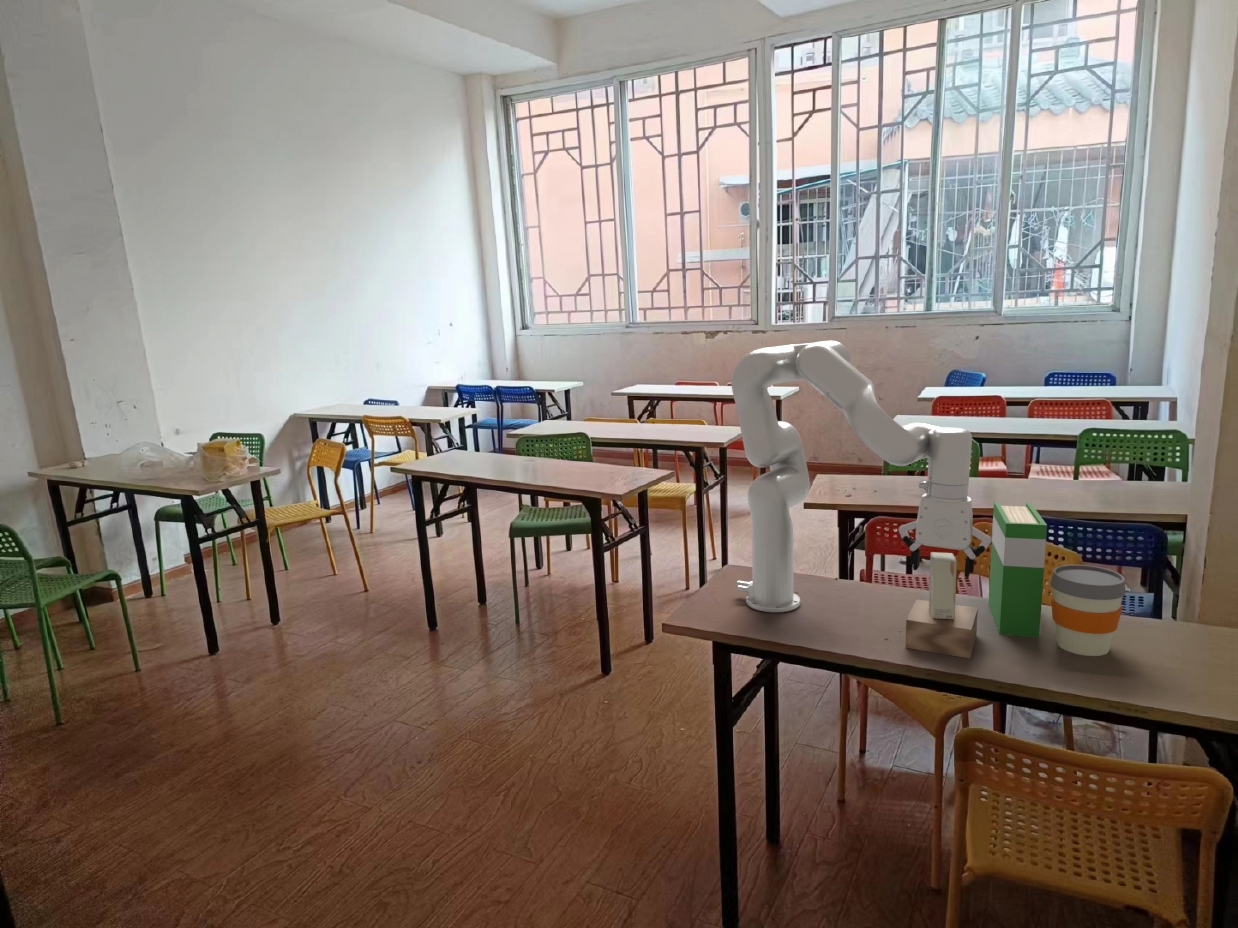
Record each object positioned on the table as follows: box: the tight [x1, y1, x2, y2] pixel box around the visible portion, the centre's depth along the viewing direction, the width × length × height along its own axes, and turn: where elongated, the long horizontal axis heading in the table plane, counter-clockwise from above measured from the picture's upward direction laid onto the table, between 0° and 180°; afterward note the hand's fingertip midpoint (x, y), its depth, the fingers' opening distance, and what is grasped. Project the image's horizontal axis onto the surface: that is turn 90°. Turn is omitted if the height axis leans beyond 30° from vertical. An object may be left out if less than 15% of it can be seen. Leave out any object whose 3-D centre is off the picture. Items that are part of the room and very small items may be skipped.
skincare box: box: [928, 551, 958, 619], centre depth 155 cm, size 6×4×12 cm
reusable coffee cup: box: [1050, 564, 1126, 657], centre depth 151 cm, size 12×13×15 cm
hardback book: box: [988, 501, 1048, 638], centre depth 165 cm, size 18×7×24 cm, turn 162°
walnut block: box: [905, 598, 979, 660], centre depth 157 cm, size 12×12×6 cm
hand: (941, 571), depth 155 cm, fingers open, 9 cm apart
